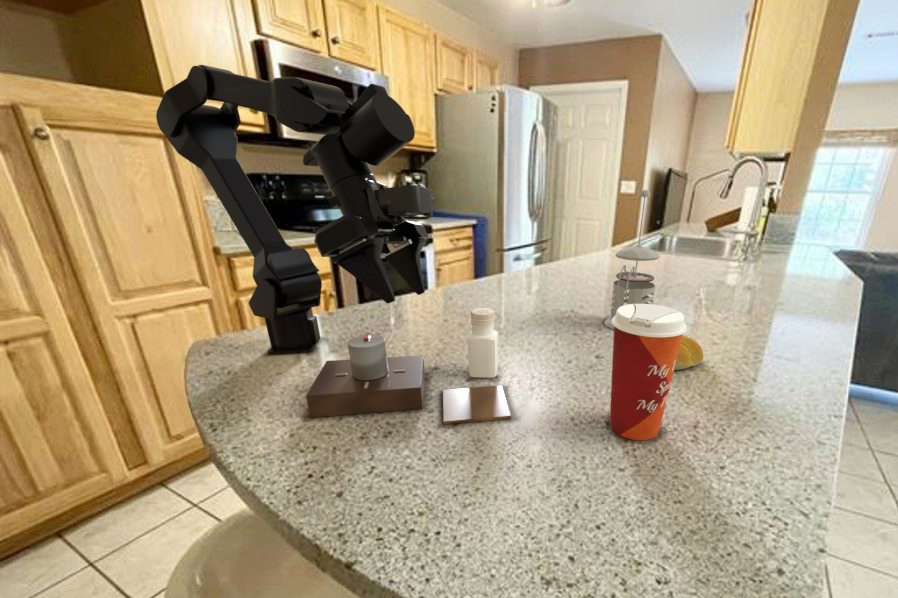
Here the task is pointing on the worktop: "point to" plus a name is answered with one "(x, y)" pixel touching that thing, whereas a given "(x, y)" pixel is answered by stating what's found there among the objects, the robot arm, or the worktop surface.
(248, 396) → the worktop surface
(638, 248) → the french press
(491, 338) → the pepper shaker
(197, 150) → the robot arm
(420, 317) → the worktop surface
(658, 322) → the paper cup
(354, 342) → the knob
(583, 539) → the worktop surface
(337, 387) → the panel
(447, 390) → the coaster
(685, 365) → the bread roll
